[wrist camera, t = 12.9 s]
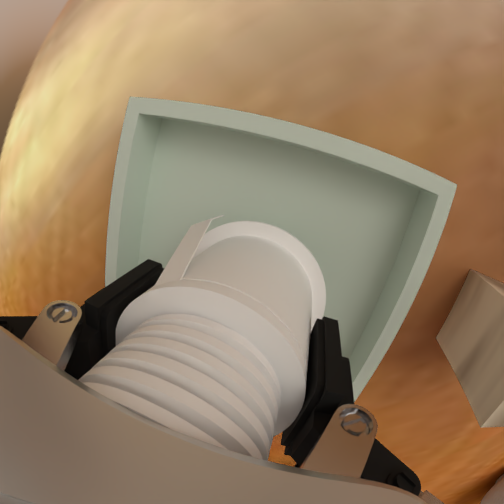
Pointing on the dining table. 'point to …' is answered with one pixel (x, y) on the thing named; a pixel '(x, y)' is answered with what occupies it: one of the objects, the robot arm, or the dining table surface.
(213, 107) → the tray
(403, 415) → the dining table surface
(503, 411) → the maple block
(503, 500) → the cereal bowl
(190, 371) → the downlight
